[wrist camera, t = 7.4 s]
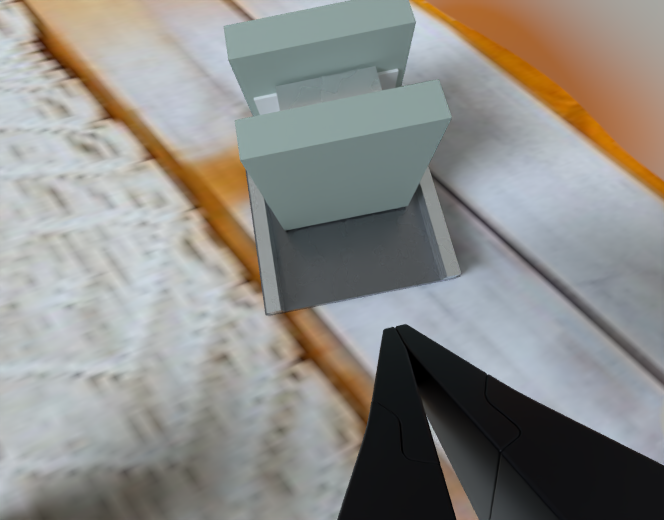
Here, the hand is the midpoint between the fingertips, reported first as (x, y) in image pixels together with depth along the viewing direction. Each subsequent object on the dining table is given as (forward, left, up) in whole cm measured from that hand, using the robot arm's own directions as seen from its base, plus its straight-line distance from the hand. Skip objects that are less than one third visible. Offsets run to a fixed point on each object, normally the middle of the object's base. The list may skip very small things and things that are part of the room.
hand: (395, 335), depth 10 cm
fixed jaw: (+14, -7, -12) cm, 20 cm away
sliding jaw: (+9, -5, -11) cm, 15 cm away
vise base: (+9, -5, -13) cm, 16 cm away
